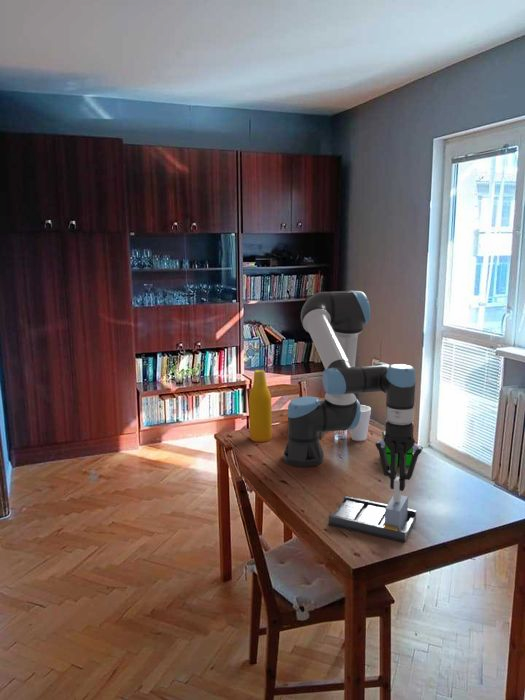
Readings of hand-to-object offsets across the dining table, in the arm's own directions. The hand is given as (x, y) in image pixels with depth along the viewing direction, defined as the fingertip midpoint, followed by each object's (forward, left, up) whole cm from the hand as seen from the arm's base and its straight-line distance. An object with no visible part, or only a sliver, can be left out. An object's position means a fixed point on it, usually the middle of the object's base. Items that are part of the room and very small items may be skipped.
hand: (397, 499), depth 157 cm
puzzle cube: (-12, +48, -9) cm, 50 cm away
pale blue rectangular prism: (0, 0, -8) cm, 8 cm away
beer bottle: (-69, +48, -9) cm, 85 cm away
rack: (-7, 0, -9) cm, 11 cm away
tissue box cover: (-54, +70, -9) cm, 89 cm away
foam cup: (-32, +65, -9) cm, 73 cm away
